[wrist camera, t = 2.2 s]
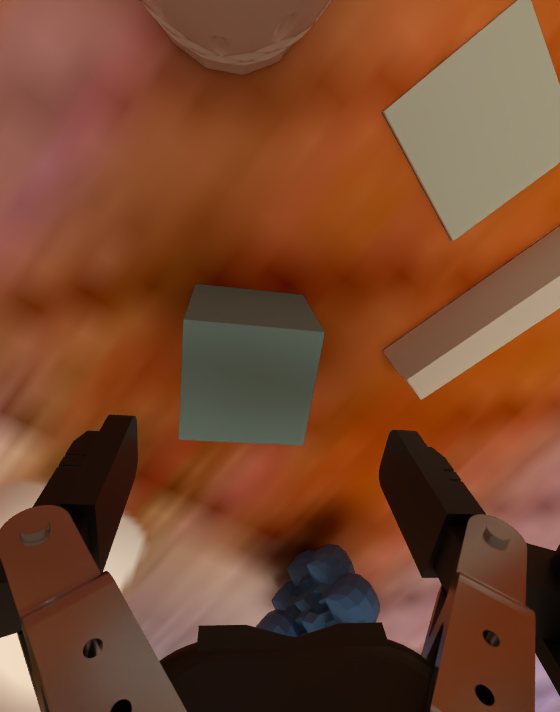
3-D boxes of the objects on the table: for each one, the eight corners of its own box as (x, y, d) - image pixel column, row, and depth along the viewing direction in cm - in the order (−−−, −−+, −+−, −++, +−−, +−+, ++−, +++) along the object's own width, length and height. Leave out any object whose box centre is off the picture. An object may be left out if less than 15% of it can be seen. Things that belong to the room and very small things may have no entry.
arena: (395, 368, 23) (421, 399, 20) (240, 153, 18) (242, 149, 14) (678, 173, 20) (761, 173, 17) (597, -159, 15) (698, -251, 11)
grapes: (277, 483, 26) (310, 708, 15) (368, 504, 27) (457, 720, 17) (221, 599, 30) (215, 842, 19) (303, 611, 31) (340, 841, 21)
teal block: (288, 386, 23) (302, 445, 18) (190, 380, 22) (178, 439, 17) (302, 294, 21) (325, 332, 16) (195, 283, 20) (183, 319, 15)
